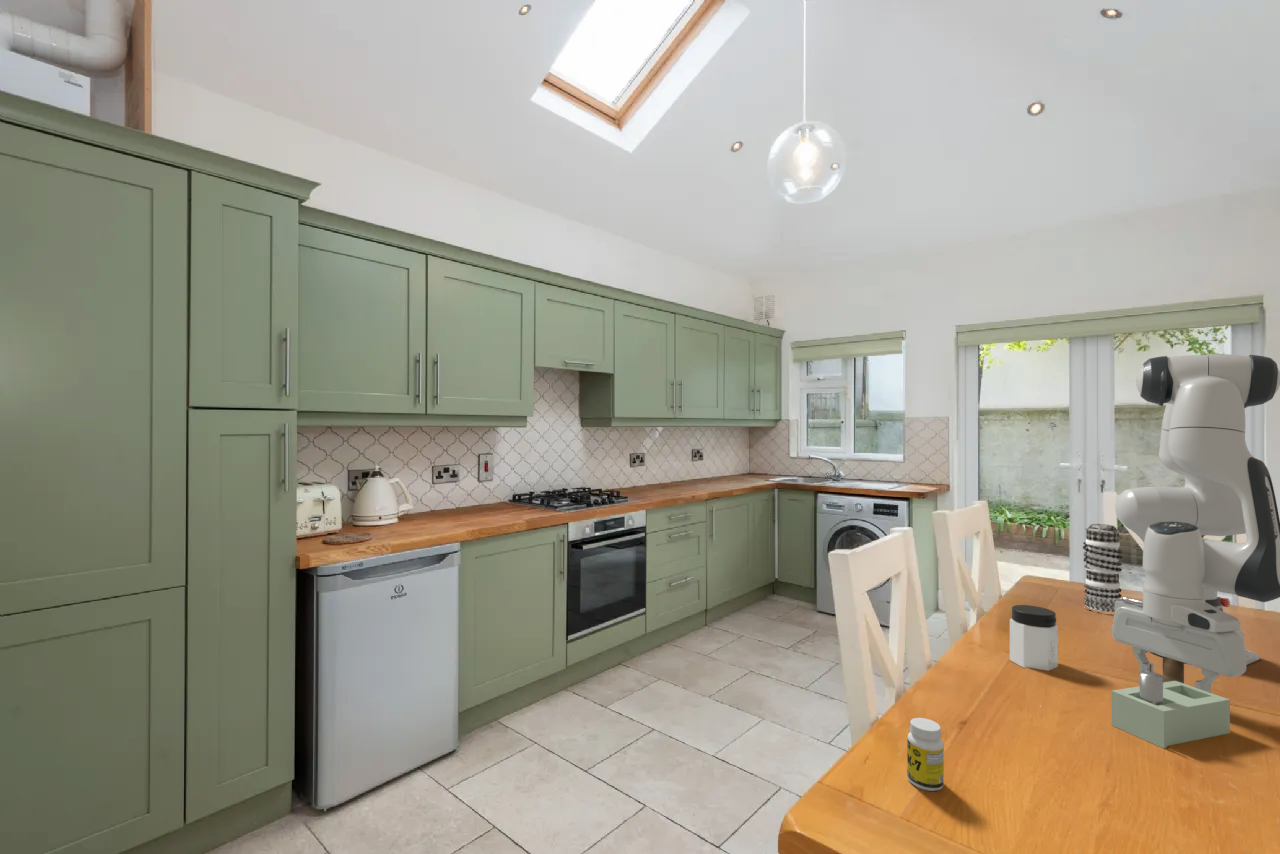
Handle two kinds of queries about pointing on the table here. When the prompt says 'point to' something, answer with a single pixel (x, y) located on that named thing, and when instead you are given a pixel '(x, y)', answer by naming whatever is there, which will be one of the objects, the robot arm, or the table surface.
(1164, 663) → the walnut peg
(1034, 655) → the jar
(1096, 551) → the decorative candle
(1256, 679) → the table surface
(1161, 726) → the socket block
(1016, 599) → the table surface
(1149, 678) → the grey metal peg
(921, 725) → the supplement bottle
